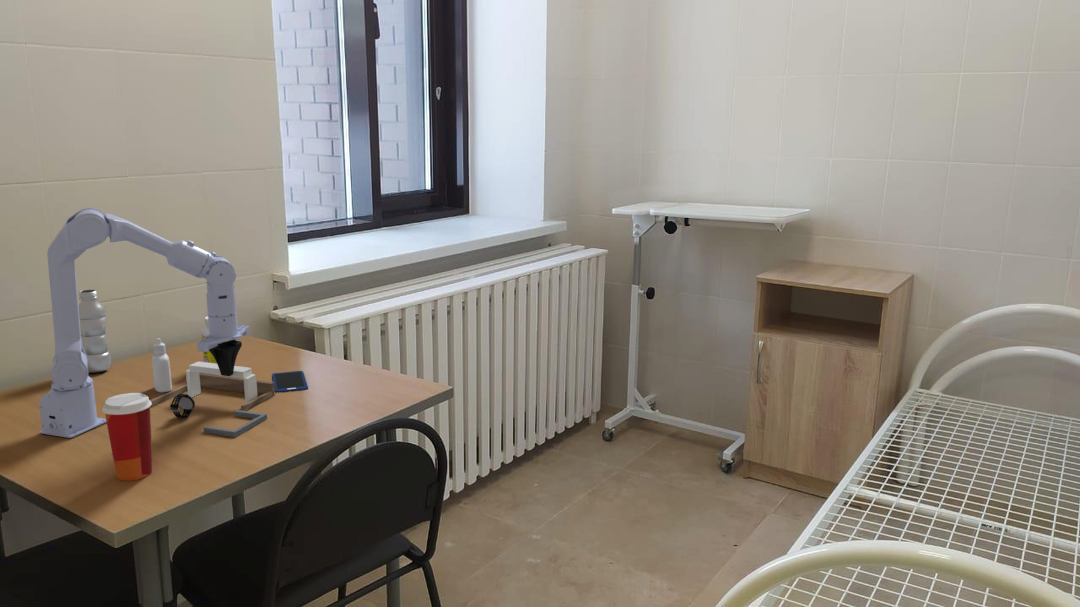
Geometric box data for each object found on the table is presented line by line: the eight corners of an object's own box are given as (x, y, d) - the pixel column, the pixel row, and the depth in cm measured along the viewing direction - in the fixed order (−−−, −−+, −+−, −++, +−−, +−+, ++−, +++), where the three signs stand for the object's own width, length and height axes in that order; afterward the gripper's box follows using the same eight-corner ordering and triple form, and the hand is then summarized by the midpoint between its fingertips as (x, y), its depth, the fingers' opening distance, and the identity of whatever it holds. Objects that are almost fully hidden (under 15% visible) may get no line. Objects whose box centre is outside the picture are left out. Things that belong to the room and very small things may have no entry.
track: (212, 428, 165) (211, 414, 165) (128, 415, 171) (127, 402, 171) (274, 395, 185) (273, 382, 184) (197, 384, 191) (196, 372, 190)
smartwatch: (198, 416, 172) (196, 393, 171) (176, 423, 168) (173, 400, 167) (187, 411, 174) (185, 389, 173) (164, 418, 170) (162, 396, 169)
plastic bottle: (82, 369, 201) (72, 289, 196) (113, 366, 203) (104, 287, 199) (80, 377, 195) (70, 295, 190) (111, 373, 198) (102, 292, 193)
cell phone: (275, 394, 186) (275, 391, 186) (271, 376, 199) (271, 373, 199) (308, 391, 189) (308, 388, 189) (303, 373, 202) (302, 370, 201)
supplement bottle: (205, 363, 206) (201, 314, 203) (233, 361, 208) (230, 312, 205) (203, 371, 200) (199, 321, 197) (232, 369, 202) (228, 319, 199)
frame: (235, 437, 161) (234, 432, 161) (203, 432, 163) (203, 427, 163) (267, 418, 171) (266, 414, 171) (237, 414, 173) (236, 409, 173)
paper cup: (145, 461, 150) (138, 388, 147) (166, 473, 145) (159, 398, 142) (101, 475, 144) (92, 400, 141) (121, 488, 139) (112, 410, 136)
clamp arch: (249, 405, 178) (247, 372, 176) (188, 397, 183) (185, 364, 181) (257, 401, 181) (255, 368, 179) (197, 392, 185) (194, 360, 184)
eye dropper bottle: (177, 384, 191) (172, 335, 188) (169, 392, 185) (164, 342, 182) (157, 385, 190) (152, 335, 187) (149, 393, 185) (144, 342, 182)
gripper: (215, 324, 166) (220, 387, 169) (259, 308, 179) (263, 367, 183) (186, 320, 168) (192, 383, 171) (232, 305, 181) (236, 363, 185)
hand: (227, 375), depth 177 cm, fingers closed
